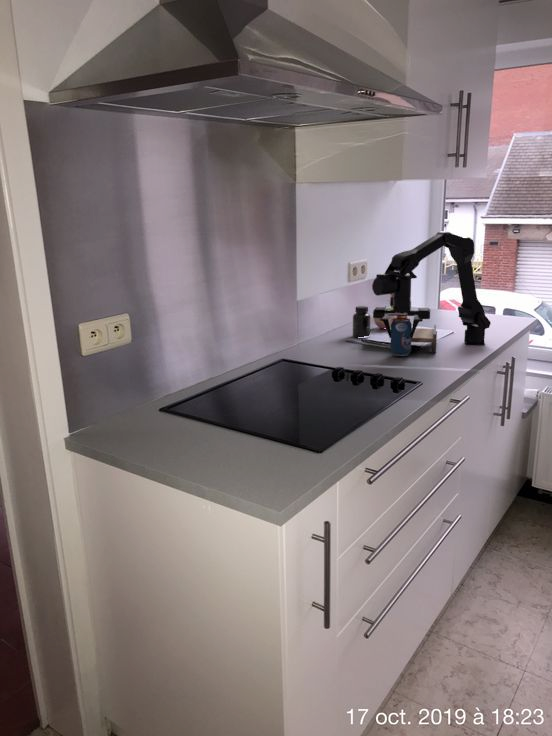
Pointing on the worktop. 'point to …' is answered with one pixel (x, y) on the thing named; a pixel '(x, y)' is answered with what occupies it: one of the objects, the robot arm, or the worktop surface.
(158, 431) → the worktop surface
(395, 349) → the soda can
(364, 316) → the supplement bottle
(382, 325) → the decorative fruit
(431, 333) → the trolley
